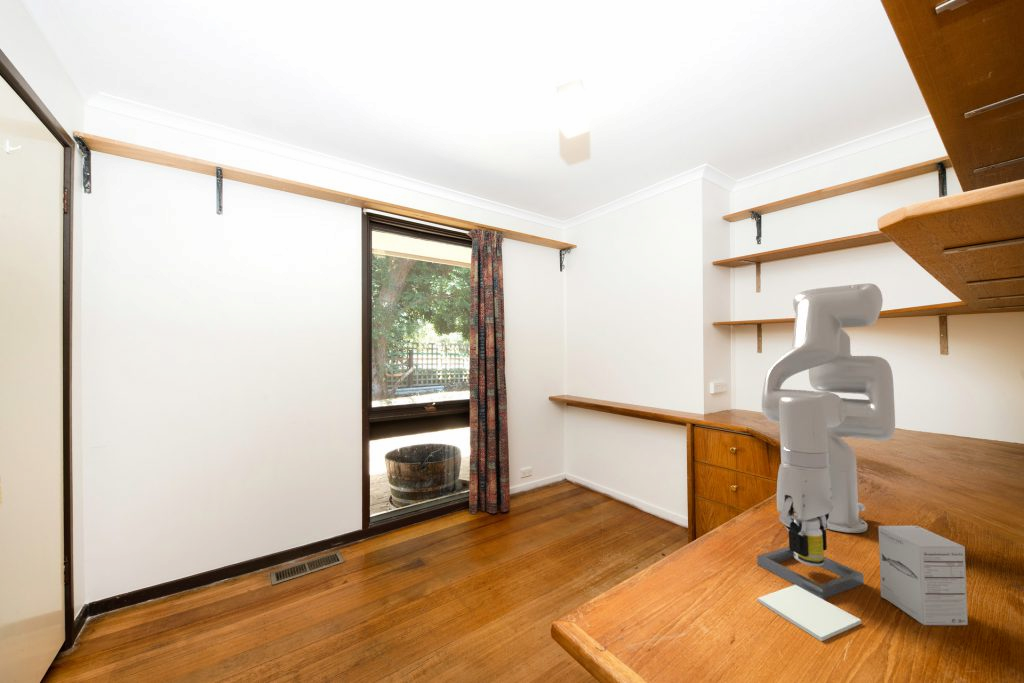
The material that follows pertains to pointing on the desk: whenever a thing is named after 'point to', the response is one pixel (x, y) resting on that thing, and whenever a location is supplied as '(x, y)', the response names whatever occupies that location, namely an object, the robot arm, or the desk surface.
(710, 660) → the desk surface
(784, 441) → the robot arm
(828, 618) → the mat
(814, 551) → the supplement bottle
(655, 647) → the desk surface
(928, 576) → the supplement box
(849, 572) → the frame
